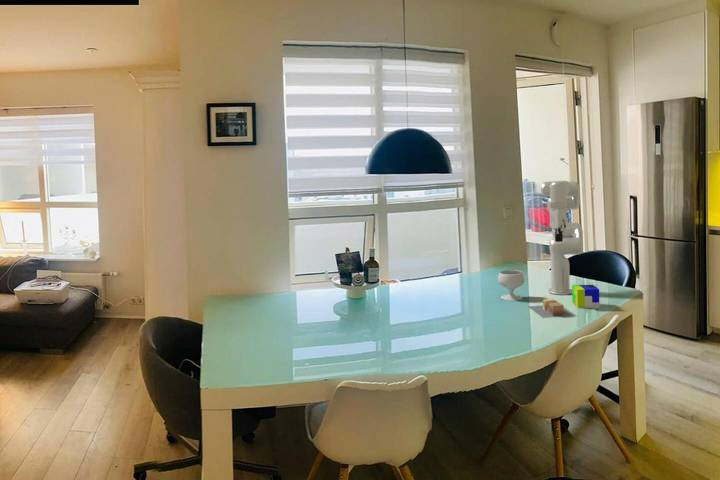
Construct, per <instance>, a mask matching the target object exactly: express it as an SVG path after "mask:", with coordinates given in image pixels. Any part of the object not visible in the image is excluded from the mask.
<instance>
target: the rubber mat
mask: <svg viewBox="0 0 720 480" xmlns="http://www.w3.org/2000/svg"><path fill="white" fill-rule="evenodd" d="M527 308H529V309H530V310H532V312H534V313H536V314H537V315H539V316H540V317H541V318H542V319H545V318H547V319H549V318H561V317H562V318H564V317H565V318H566V317H576V316H577V315H576V314H575V313H574V312H571V311H570V310H568V309H567V308H565V307H564V316H552V315H551V314H549V313H548V312H546V311H545V310H544V309H543V304H542V305H528V306H527Z"/></svg>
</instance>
